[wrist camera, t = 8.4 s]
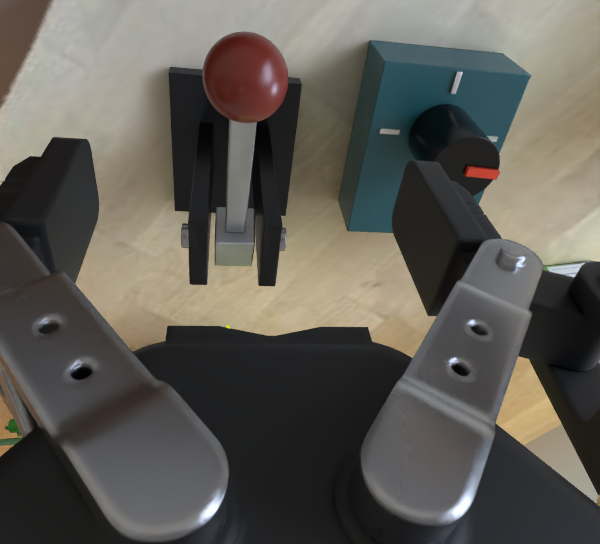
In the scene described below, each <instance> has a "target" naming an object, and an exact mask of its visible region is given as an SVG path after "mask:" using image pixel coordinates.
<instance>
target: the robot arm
mask: <svg viewBox="0 0 600 544" xmlns="http://www.w3.org/2000/svg"><path fill="white" fill-rule="evenodd" d="M98 213H99V198H98V191H97V184H96V178H95V171H94V165H93V159H92V152H91V147H90V144H89V141H88V140H87V139H75V138H59V137H53V138H52V139H51V141H50V143H49V144H48V146H47V148H46V149H45V151H44V153H43V154H42V156H41V157H32V156H30V157H28V158H27V159H25V160H23V161H22V162H20V163H18V164H17V165H15V166H14V167H13V168H12V169H11V171H10V172H9V174H8V175H7V177H6V178H5V181H3V183H2V184H1V186H0V395H1V397H2V399H3V400H4V402H5V404H6V406H7V407H8V409H9V411H10V413H11V414H12V416H13V418H14V420H15V422H16V424H17V426H18V428H19V431H20V433H21V435H22V437H23V438H22V439H21V440H20V441H19V442H17V443H16V444H15V445H14V446H13V447H11V448H10V449H9V450H8V451H7V452H5V453H4V454H3V455H2V456H1V457H0V544H600V363H599V360H600V262H587V263H585V264H583V265H582V266H581V268H580V269H579V271H578V273H577V274H576V276H575V277H571V276H566V275H562V274H558V273H554V272H550V271H546V270H543V264H542V261H541V260H540V258H539V257H538V256H537V255H536V254H535V253H534V252H533V251H531V250H530V249H528V248H527V247H525V246H523V245H521V244H519V243H516V242H513V241H510V240H505V239H502V238H501V237H500V235H499V234H498V232H497V231H496V229H495V228H494V226H493V225H492V224H491V222H490V221H489V219H488V218H487V216H486V215H484V212H483V211H482V209H481V208H480V206H479V205H477V202H476V201H475V199H474V198H473V196H472V195H471V193H470V192H469V191H468V190H466V189H465V188H464V187H462V186H461V185H460V184H458V183H457V182H456V181H451V180H450V178H449V177H448V175H447V174H446V172H445V171H444V169H443V168H442V166H441V165H440V163H438V162H430V161H414V160H411V161H409V162H408V163H407V165H406V167H405V170H404V173H403V177H402V180H401V184H400V187H399V191H398V195H397V198H396V202H395V205H394V209H393V213H392V230H393V234H394V236H395V239H396V241H397V243H398V246H399V248H400V251H401V253H402V255H403V258H404V260H405V262H406V265H407V267H408V269H409V272H410V274H411V277H412V279H413V281H414V284H415V286H416V288H417V291H418V293H419V295H420V298H421V300H422V303H423V305H424V307H425V310H426V312H427V314H428V316H437V317H436V319H435V321H434V322H433V324H432V326H431V328H430V329H429V331H428V333H427V335H426V336H425V338H424V340H423V342H422V343H421V345H420V347H419V349H418V350H417V352H416V354H415V355H414V357H413V358H411V357H410V356H408V355H406V354H404V353H402V352H400V351H398V350H396V349H393V348H391V347H388V346H385V345H382V344H379V343H374V342H372V340H371V337H370V333H369V330H368V327H318V328H313V329H308V330H303V331H298V332H293V333H288V334H283V335H278V336H266V335H261V334H256V333H251V332H246V331H241V330H235V329H230V328H225V327H220V326H168V327H167V335H166V341H164V342H159V343H155V344H152V345H149V346H145V347H143V348H141V349H138V350H136V351H133V352H132V351H131V350H130V349H129V347H128V346H127V345H126V344H125V343H124V342H123V340H122V339H121V338H120V337H119V336H118V334H117V333H116V332H115V331H114V330H113V329H112V327H111V326H110V325H109V324H108V323H107V321H106V320H105V319H104V318H103V317H102V315H101V314H100V313H99V312H98V311H97V310H96V308H95V307H94V306H93V305H92V304H91V302H90V301H89V300H88V299H87V298H86V296H85V295H84V294H83V293H82V292H81V291H80V289H79V288H78V287H77V286H76V285H75V282H76V280H77V277H78V274H79V271H80V268H81V265H82V263H83V260H84V257H85V254H86V251H87V248H88V246H89V243H90V240H91V237H92V234H93V231H94V229H95V226H96V223H97V220H98ZM518 356H520V357H524V358H528V359H529V360H530V362H531V364H532V366H533V368H534V370H535V372H536V374H537V376H538V378H539V380H540V382H541V384H542V386H543V388H544V390H545V392H546V394H547V396H548V398H549V399H550V401H551V403H552V405H553V407H554V409H555V411H556V413H557V415H558V417H559V419H560V421H561V423H562V425H563V427H564V429H565V431H566V433H567V435H568V437H569V439H570V440H571V442H572V444H573V446H574V448H575V450H576V452H577V454H578V456H579V458H580V460H581V462H582V464H583V466H584V468H585V470H586V472H587V474H588V476H589V478H590V480H591V482H592V484H593V486H594V488H595V489H596V491H597V493H598V495H599V497H598V500H597V504H596V503H595V502H594V501H592V500H591V499H590V498H589V497H587V496H586V495H585V494H584V493H582V492H581V491H580V490H578V489H577V488H576V487H575V486H573V485H572V484H571V483H570V482H568V481H567V480H566V479H565V478H563V477H562V476H561V475H560V474H558V473H557V472H556V471H555V470H553V469H552V468H551V467H550V466H548V465H547V464H546V463H545V462H543V461H542V460H541V459H540V458H538V457H537V456H536V455H534V454H533V453H532V452H531V451H529V450H528V449H527V448H526V447H525V446H523V445H522V444H521V443H519V442H518V441H517V440H516V439H514V438H513V437H512V436H511V435H509V434H508V433H507V432H506V431H504V430H503V429H502V428H501V427H499V426H498V425H497V424H496V419H497V416H498V413H499V410H500V408H501V405H502V402H503V399H504V396H505V393H506V390H507V387H508V384H509V381H510V378H511V375H512V372H513V369H514V366H515V363H516V360H517V357H518Z"/></svg>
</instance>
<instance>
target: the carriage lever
mask: <svg viewBox="0 0 600 544" xmlns="http://www.w3.org/2000/svg"><path fill="white" fill-rule="evenodd" d="M203 85H204V89H205V93H206V95H207V97H208V99H209V101H210V102H211V104H212V105H213V107H214V108H215V109H216V110H217V111H218V112H219V113H220V114H222V115H223V116H225V117H226V118H228V119H229V140H228V166H227V192H226V207H216V222H215V265H220V266H251V265H252V259H253V253H254V246H255V210H254V209H251V208H248V199H249V190H250V181H251V172H252V162H253V153H254V144H255V135H256V126H257V122H259V121H262V120H264V119H266V118H268V117H269V116H271V115H272V114H273V113H274V112H275V111H276V110H277V109H278V108H279V107H280V105H281V104H282V102H283V100H284V98H285V95H286V92H287V88H288V70H287V66H286V63H285V60H284V58H283V56H282V54H281V53H280V51H279V50H278V49H277V47H276V46H275V45H274V44H273V43H272V42H271V41H269V40H268V39H266V38H265V37H263V36H261V35H258V34H256V33H252V32H236V33H232V34H229V35H227V36H225V37H223V38H222V39H220V40H219V41H218V42H217V43H216V44H215V45H214V46H213V47H212V48H211V50H210V51H209V53H208V54H207V57H206V59H205V62H204V66H203Z"/></svg>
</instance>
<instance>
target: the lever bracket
mask: <svg viewBox="0 0 600 544" xmlns="http://www.w3.org/2000/svg"><path fill="white" fill-rule="evenodd" d="M301 85H302V84H301V81H300V78H291V77H288V88H287V92H286V95H285V98H284V100H283V102H282V104H281V105H280V107H279V108H278V109H277V110H276V111H275V112H274V113H273V114H272V115H271V116H269V117H268V118H266V119H264V120H262V121H259V122H257V126H256V135H255V144H254V153H253V162H252V172H251V181H250V190H249V199H248V208H251V209H254V210H255V235H256V251H257V268H258V284H259V286H275V284H276V275H277V267H278V258H279V251H285V248H286V229H285V228H283V227H282V220H281V216H285V215H286V208H287V200H288V192H289V183H290V175H291V167H292V159H293V151H294V143H295V134H296V126H297V118H298V110H299V102H300V94H301ZM169 86H170V109H171V131H172V154H173V177H174V199H175V211H188V212H189V220H188V224H182V229H181V246H182V248H189V276H190V284H192V285H207V278H208V260H209V242H210V224H211V213H216V207H226V192H227V166H228V140H229V119H228V118H226V117H225V116H223V115H222V114H220V113H219V112H218V111H217V110H216V109H215V108H214V107H213V105H212V104H211V102H210V101H209V99H208V97H207V95H206V93H205V89H204V85H203V70H199V69H188V68H176V67H171V68H170V71H169Z"/></svg>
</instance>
